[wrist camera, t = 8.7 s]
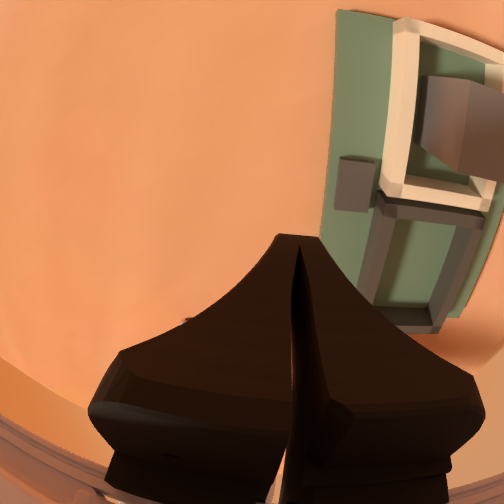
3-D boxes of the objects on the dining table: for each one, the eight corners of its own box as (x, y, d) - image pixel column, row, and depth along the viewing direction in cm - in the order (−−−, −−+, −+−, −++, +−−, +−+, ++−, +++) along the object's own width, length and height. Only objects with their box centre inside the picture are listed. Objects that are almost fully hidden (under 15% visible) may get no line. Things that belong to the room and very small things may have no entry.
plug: (461, 152, 15) (511, 185, 10) (413, 142, 15) (456, 172, 10) (470, 88, 13) (526, 101, 8) (421, 73, 13) (470, 77, 8)
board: (455, 309, 22) (466, 334, 20) (309, 303, 23) (309, 331, 21) (519, 68, 11) (546, 72, 9) (335, 12, 13) (343, 0, 10)
